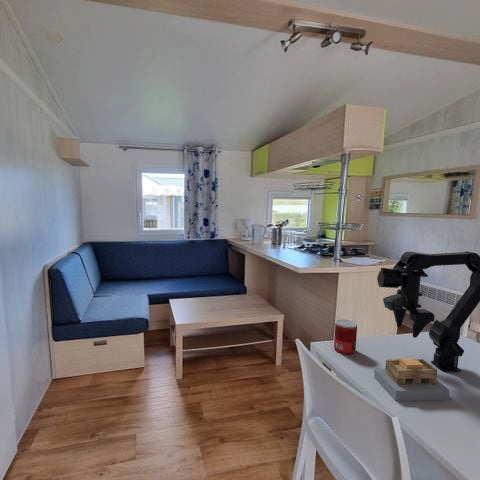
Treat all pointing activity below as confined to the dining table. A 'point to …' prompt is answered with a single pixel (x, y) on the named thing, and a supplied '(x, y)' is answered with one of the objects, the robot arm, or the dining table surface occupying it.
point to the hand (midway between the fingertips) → (406, 331)
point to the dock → (411, 389)
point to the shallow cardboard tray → (410, 373)
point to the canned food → (345, 336)
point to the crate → (410, 363)
